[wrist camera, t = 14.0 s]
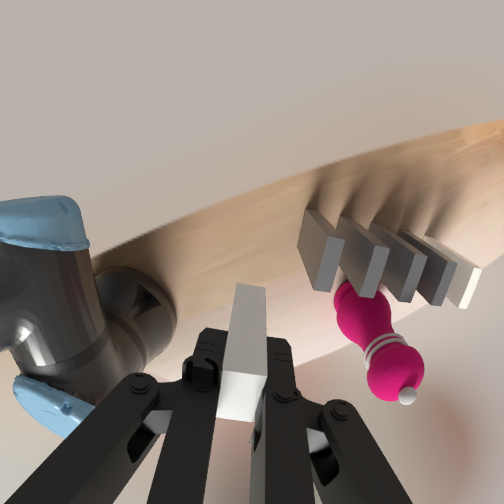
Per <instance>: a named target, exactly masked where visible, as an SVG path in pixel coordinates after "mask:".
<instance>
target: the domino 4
mask: <svg viewBox="0 0 504 504" xmlns="http://www.w3.org/2000/svg"><path fill="white" fill-rule="evenodd" d="M398 236H399V237H401V238H402V239H403V240H405V241H406V242H408V243H409V244H411V245H412V246H414V247H415V248H416V249H418V250H419V251H421V252H422V253H423V254H425V255H426V256H427V260H426V263H425V266H424V269H423V272H422V275H421V277H420V280H419V283H418V285H417V288H416V290H417V291H418V292H419V293H420V294H421V295H422V296H423V297H424V298H425V299H426V301H427V302H428V303H429V304H430V305H435V306H441V305H442V303H443V300H444V298H445V296H446V293H447V291H448V288H449V286H450V283H451V281H452V278H453V275H454V273H455V270H456V267H457V264H458V263H456V262H455V261H453V260H452V259H451V258H449V257H448V256H446V255H445V254H443V253H442V252H440V251H439V250H437V249H436V248H434V247H432V246H431V245H429V244H428V243H426V242H425V241H423V240H422V239H420V238H418V237H417V236H415V235H414V234H412V233H410V232H409V231H405V230H401V229H399V231H398Z"/></svg>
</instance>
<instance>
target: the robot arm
mask: <svg viewBox="0 0 504 504" xmlns="http://www.w3.org/2000/svg"><path fill="white" fill-rule="evenodd" d="M89 246H90V243H89V240H88V239H87V238H86V234H85V230H84V225H83V221H82V216H81V212H80V208H79V206H78V205H77V203H76V202H75V201H74V200H73V199H71V198H70V197H67V196H60V195H57V196H40V197H30V198H21V199H14V200H8V201H1V202H0V352H2V351H5V350H9V351H10V352H11V354H12V355H13V358H14V360H15V362H16V364H17V365H18V367H19V369H20V372H21V374H20V375H19V376H16V377H15V381H14V383H13V392H14V395H15V397H16V399H17V400H18V402H19V403H20V405H21V406H22V407H23V408H24V409H25V410H26V411H27V412H28V413H29V414H30V415H31V416H32V417H33V418H34V419H35V420H37V421H38V422H39V423H40V424H42V425H43V426H44V427H46V428H47V429H49V430H50V431H52V432H53V433H55V434H57V435H59V436H60V437H62V438H64V439H65V440H64V441H63V442H62V443H61V444H60V445H59V446H58V447H57V448H56V449H55V450H54V451H53V452H52V453H51V454H50V455H49V457H48V458H47V459H46V460H45V461H44V462H43V463H42V464H41V465H40V466H39V467H38V468H37V469H36V470H35V471H34V472H33V474H31V475H30V477H29V478H28V479H27V480H26V481H25V482H24V483H23V484H22V485H21V486H20V487H19V488H18V489H17V490H16V492H15V493H14V494H13V495H12V496H11V497H10V498H9V499H8V500H7V501H6V502H5V503H4V504H113V502H114V501H115V500H116V498H117V497H118V495H119V494H120V493H121V491H122V490H123V488H124V487H125V485H126V484H127V483H128V481H129V480H130V478H131V477H132V475H133V474H134V473H135V471H136V470H137V468H138V467H139V466H140V464H141V463H142V461H143V460H144V458H145V457H146V455H147V454H148V453H149V451H150V450H151V448H152V447H153V445H154V444H155V442H156V441H157V439H158V438H159V437H160V435H161V434H162V433H163V434H164V433H166V436H165V439H164V442H163V446H162V449H161V453H160V456H159V460H158V464H157V467H156V471H155V474H154V478H153V482H152V486H151V489H150V493H149V496H148V500H147V504H203V500H204V494H205V487H206V479H207V473H208V466H209V460H210V453H211V446H212V440H213V433H214V426H215V420H216V417H220V418H226V419H233V420H240V421H249V422H253V421H254V418H255V427H254V430H253V432H252V435H251V438H250V441H249V443H252V452H251V476H250V497H249V504H315V497H314V488H313V482H314V484H315V486H316V489H317V491H318V494H319V496H320V499H321V501H322V503H323V504H413V503H412V501H411V500H410V498H409V496H408V495H407V493H406V492H405V490H404V488H403V486H402V485H401V483H400V481H399V480H398V478H397V476H396V475H395V473H394V471H393V470H392V468H391V466H390V465H389V463H388V461H387V460H386V458H385V456H384V455H383V453H382V451H381V450H380V448H379V447H378V445H377V443H376V441H375V440H374V438H373V436H372V435H371V433H370V431H369V430H368V428H367V426H366V425H365V423H364V421H363V420H362V418H361V417H360V415H359V413H358V412H357V410H356V409H355V407H354V406H353V405H352V404H350V403H349V402H347V401H344V400H340V399H335V400H331V401H328V402H327V403H326V404H325V405H321V404H318V403H314V402H312V401H309V400H307V399H305V398H304V397H303V396H302V395H301V392H300V391H299V390H298V389H297V388H296V383H295V375H294V367H293V359H292V352H291V346H290V345H289V343H288V342H287V341H286V339H282V338H274V337H267V336H266V296H265V288H264V287H258V286H251V285H245V284H239V283H237V285H236V291H235V297H234V302H233V308H232V314H231V320H230V325H229V331H224V330H218V329H212V328H207V327H206V328H205V329H204V330H203V331H202V332H201V333H200V334H199V337H198V340H197V343H196V346H195V350H194V353H193V356H190V357H188V358H187V359H185V361H184V362H183V364H182V379H180V380H178V381H175V382H166V383H158V382H157V381H156V379H155V378H154V377H152V376H151V375H149V374H146V373H142V372H143V370H144V368H145V366H146V365H147V364H148V363H149V362H150V361H152V360H153V359H154V358H155V357H156V356H158V355H159V354H161V353H162V352H163V351H164V350H165V349H166V348H167V347H168V345H169V343H170V341H171V339H172V337H173V335H174V332H175V328H176V316H175V311H174V308H173V305H172V303H171V301H170V299H169V297H168V296H167V294H166V293H165V291H164V290H163V289H162V288H161V287H160V286H159V285H158V284H157V283H156V282H155V281H154V280H153V279H151V278H150V277H148V276H147V275H145V274H143V273H141V272H139V271H137V270H134V269H131V268H126V267H113V268H109V269H106V270H104V271H102V272H101V273H99V274H98V275H97V276H96V277H95V276H94V272H93V268H92V263H91V259H90V254H89V249H88V248H89Z"/></svg>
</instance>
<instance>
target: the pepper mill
mask: <svg viewBox="0 0 504 504" xmlns="http://www.w3.org/2000/svg"><path fill="white" fill-rule="evenodd" d="M334 307H335V310H336V312H337V323H338V326H339V328H340V329H341V331H342V333H343V334H344V335H345V336H346V337H347V338H348V339H349V340H351V341H353V342H354V343H356V344H358V345H359V346H360V347H361V348H362V349H363V351H364V356H363V360H364V363H365V365H366V368H367V370H368V373H367V382H368V386H369V388H370V390H371V391H372V393H373V394H374V395H376V397H378V398H379V399H381V400H385V401H397V400H399V401H400V403H401V404H404V405H409V404H411V403H413V402H414V400H415V399H416V396H417V393H416V389H417V388H418V386H419V385H420V383H421V381H422V379H423V375H424V363H423V359H422V357H421V355H420V354H419V353H418V352H417V350H416V349H414V348H413V347H410V346H408V344H407V343H406V342H405V340H404V338H403V337H402V336H401V335H399V334H396V333H395V332H394V330H393V328H392V325H391V309H390V305H389V303H388V301H387V299H386V297H385V296H384V295H383V294H382V293H381V292H380V291H378V290H377V291H376V293H375V296H374V298H368V297H361V296H359V295H358V294H357V292H356V291H355V289H354V288H353V286H352V284H351V283H350V281H348V282H346V283H344V284H343V285H342V286H341V287H340V288H339V289H338V290H337V292H336V294H335V297H334Z"/></svg>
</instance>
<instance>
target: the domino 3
mask: <svg viewBox="0 0 504 504" xmlns="http://www.w3.org/2000/svg"><path fill="white" fill-rule="evenodd" d="M369 232H370V233H372V234H373V235H374V236H375V237H377V238H378V239H379V240H380V241H382V242H383V243H384V244H385V245H387V246H388V247H389V248H390V251H389V255H388V258H387V261H386V264H385V267H384V270H383V273H382V276H381V279H380V280H381V281H382V282H383V284H384V285H385V286H386V287H387V288H388V290H389V291H390V292H391V293H392V294H393V296H394V297H395V298H396V299H397V300H398V301H400V302H408V303H411V301H412V298H413V296H414V293H415V291H416V288H417V285H418V283H419V280H420V277H421V275H422V272H423V269H424V266H425V263H426V260H427V256H426V255H425V254H423V253H422V252H421V251H419V250H418V249H416V248H415V247H414V246H412V245H411V244H409V243H408V242H406V241H405V240H403V239H402V238H401V237H399V236H398V235H396V234H395V233H393V232H392V231H390V230H389V229H387V228H386V227H384V226H383V225H380V224H376V223H372V222H371V225H370V229H369Z"/></svg>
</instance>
